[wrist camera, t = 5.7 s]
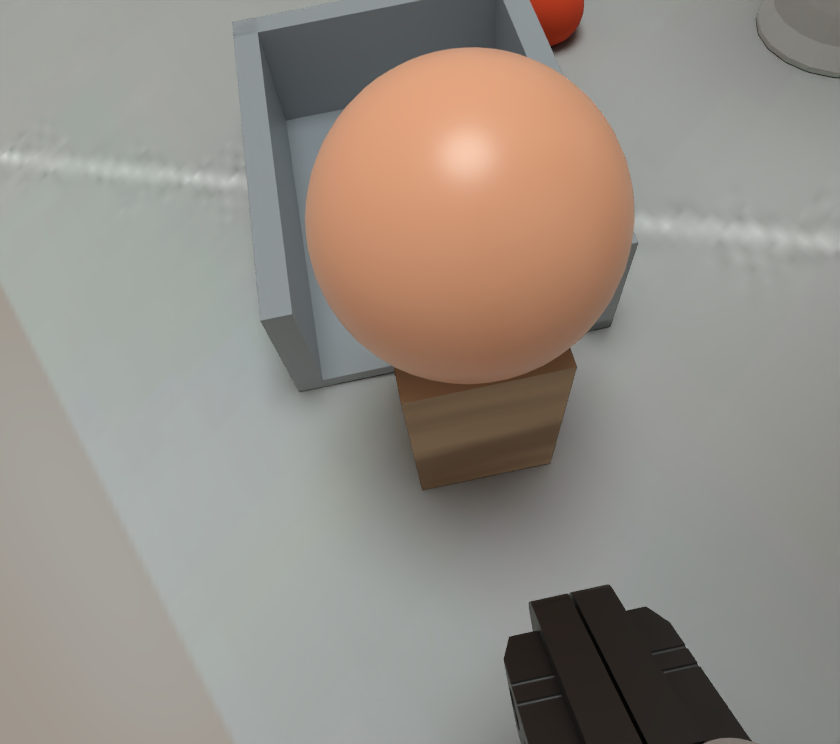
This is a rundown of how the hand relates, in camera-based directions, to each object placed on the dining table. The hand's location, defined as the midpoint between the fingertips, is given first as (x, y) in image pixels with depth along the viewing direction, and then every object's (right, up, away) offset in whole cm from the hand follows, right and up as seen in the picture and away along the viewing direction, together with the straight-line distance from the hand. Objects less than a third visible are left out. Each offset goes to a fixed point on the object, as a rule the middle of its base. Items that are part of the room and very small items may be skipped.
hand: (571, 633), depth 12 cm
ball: (-2, +8, +2) cm, 9 cm away
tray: (-3, +12, +16) cm, 20 cm away
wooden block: (-1, +3, +12) cm, 12 cm away
